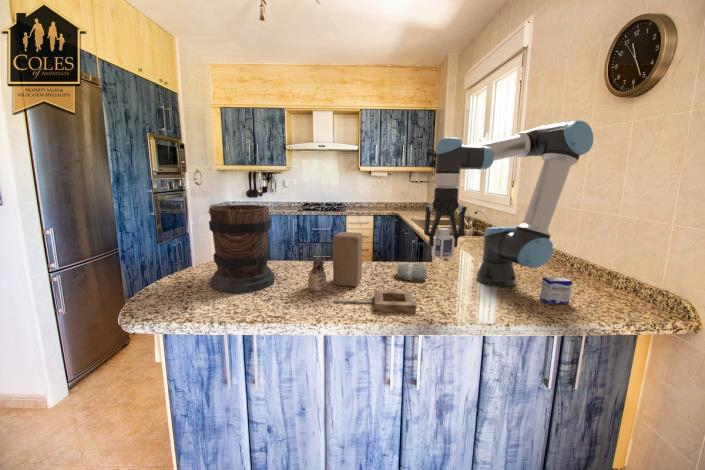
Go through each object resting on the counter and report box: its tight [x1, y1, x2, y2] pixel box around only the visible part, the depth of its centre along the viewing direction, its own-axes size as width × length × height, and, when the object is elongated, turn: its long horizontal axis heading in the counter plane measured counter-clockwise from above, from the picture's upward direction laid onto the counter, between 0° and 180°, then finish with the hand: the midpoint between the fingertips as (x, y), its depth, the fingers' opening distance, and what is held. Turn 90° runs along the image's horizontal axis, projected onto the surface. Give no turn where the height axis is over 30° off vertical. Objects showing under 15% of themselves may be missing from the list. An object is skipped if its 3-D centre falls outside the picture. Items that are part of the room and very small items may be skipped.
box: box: [539, 276, 573, 305], centre depth 114 cm, size 8×4×9 cm, turn 94°
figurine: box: [307, 257, 328, 293], centre depth 123 cm, size 7×7×12 cm
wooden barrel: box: [208, 204, 275, 294], centre depth 130 cm, size 24×30×30 cm
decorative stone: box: [396, 261, 428, 282], centre depth 139 cm, size 13×10×6 cm
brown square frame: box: [333, 289, 417, 314], centre depth 111 cm, size 27×13×2 cm, turn 87°
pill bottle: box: [434, 227, 453, 260], centre depth 110 cm, size 5×5×10 cm
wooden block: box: [332, 231, 363, 288], centre depth 130 cm, size 10×10×20 cm
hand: (442, 255), depth 111 cm, fingers closed on pill bottle, 5 cm apart
